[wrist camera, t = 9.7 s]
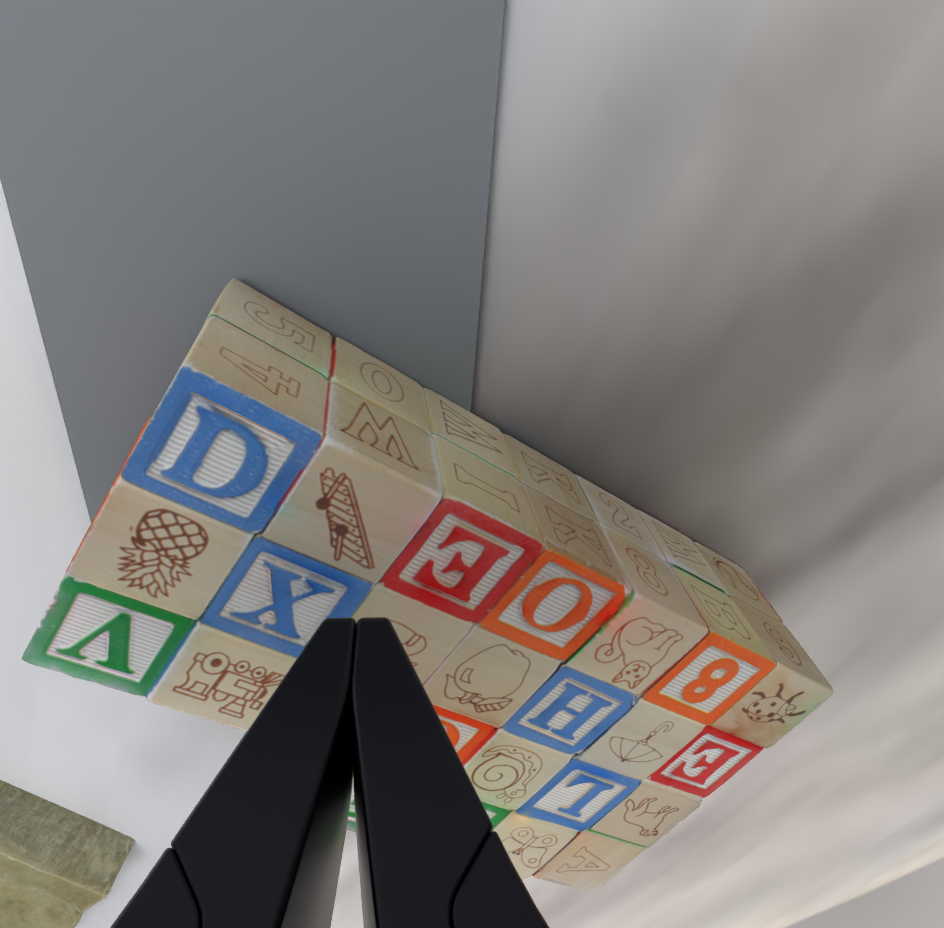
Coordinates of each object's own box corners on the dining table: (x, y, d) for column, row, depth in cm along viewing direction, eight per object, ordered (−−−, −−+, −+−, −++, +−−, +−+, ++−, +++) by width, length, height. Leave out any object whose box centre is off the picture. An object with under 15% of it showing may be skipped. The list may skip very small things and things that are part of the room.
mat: (511, -116, 15) (515, -120, 15) (450, 636, 27) (451, 645, 26) (-84, -189, 13) (-99, -197, 13) (130, 643, 25) (125, 653, 25)
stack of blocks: (232, 265, 18) (61, 579, 22) (180, 354, 13) (-32, 744, 17) (746, 569, 27) (551, 753, 31) (843, 698, 21) (591, 898, 26)
